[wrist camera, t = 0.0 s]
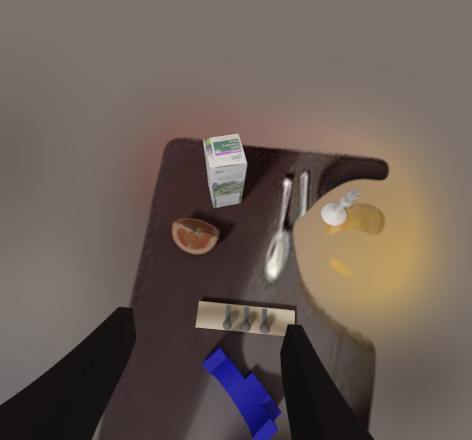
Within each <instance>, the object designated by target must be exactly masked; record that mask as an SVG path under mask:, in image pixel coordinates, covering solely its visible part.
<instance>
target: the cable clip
mask: <svg viewBox="0 0 472 440" xmlns="http://www.w3.org/2000/svg"><path fill="white" fill-rule="evenodd" d="M203 366H204V367H205V368H206V370H207V371H208V373H211V374H213V375H214V376H215V377H216V378H217V379H218V381H219V382H220V383H221V384H222V385H223V387H224V388H225V390H226V391H227V392H228V394H229V395H230V397H231V398H232V400H233V401H234V403H235V404H236V406H237V407H238V409H239V411H240V412H241V414H242V416H243V418H244V419H245V421H246V423H247V425H248V427H249V429H250V432H251V434H252V437H253V439H254V440H269V439H270V438H271V437H272V436H273V435H274V434H275V432H276V431H277V430H278V429H277V427H276V425H275V422H274V420H275V419H276V418H277V417H278V416H279V415H280V414H281V413H282V412H281V411H280V409H279V408H278V406H277V405H276V403H275V402H274V401H273V399H272V398H271V396H270V395H269V394H268V392H267V391H266V390H265V388H264V387H263V386H262V384H261V383H260V381H259V380H258V379H257V377H256V376H255V375H254V373H253V372H252V371H251V372H250V373H249V374H248V375H247V376H246V377H245V378H244V377H243V375H242V374H241V373H240V371H239V370H238V368H237V367H236V366H235V364H234V363H233V361H232V360H231V359H230V357H229V356H228V355H227V353H226V352H225V350H224V349H223V348H222V346H221V345H220V346H219V347H217V348H216V349H215V350H214V351H213V352H212V353H211V354H210V355H209V356H207V357H206V358H205V360H204V362H203Z"/></svg>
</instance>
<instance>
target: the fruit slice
mask: <svg viewBox="0 0 472 440" xmlns="http://www.w3.org/2000/svg"><path fill="white" fill-rule="evenodd" d="M219 235H220V231H219V230H218V229H217V228H216V227H214V226H213V225H211V224H209V223H207V222H205V221H202V220H199V219H194V218H179V219H176V220H175V221H174V222H173V225H172V236H173V239H174V241H175V243H176V244H177V246H178V247H180V248H181V249H182V250H183V251H185V252H188V253H191V254H204V253H206V252H208V251H210V250H211V249H212V248H213V247H214V245H215V244H216V242H217V241H218V240H219Z"/></svg>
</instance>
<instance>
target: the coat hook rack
mask: <svg viewBox="0 0 472 440" xmlns="http://www.w3.org/2000/svg"><path fill="white" fill-rule="evenodd" d="M294 323H295V311H293V310H283V309H273V308H263V307H253V306H243V305H233V304H223V303H213V302H203V301H199V307H198V314H197V321H196V327H200V328H210V329H220V330H230V331H240V332H250V333H260V334H270V335H280V336H285V333H286V329H287V325H288V324H294Z"/></svg>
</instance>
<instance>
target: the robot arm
mask: <svg viewBox="0 0 472 440" xmlns="http://www.w3.org/2000/svg"><path fill="white" fill-rule="evenodd" d="M135 341H136V332H135V324H134V317H133V309H132V308H126V307H118V308H117V309H116V310H115V311H114V312H113V313H112V314H111V315H110V316H109V317H108V318H107V319H106V320H105V321H104V322H102V323H101V324H100V325H99V326H98V327H97V328H96V329H95V330H94V331H93V332H92V333H91V334H90V335H89V336H87V337H86V338H85V339H84V340H83V341H82V342H81V343H80V344H79V345H78V346H76V347H75V348H74V349H73V350H72V351H71V352H69V353H68V354H67V355H66V356H65V357H64V358H62V359H61V360H60V361H59V362H58V363H56V364H55V365H54V366H53V367H52V368H50V369H49V370H48V371H47V372H45V373H44V374H43V375H41V376H40V377H39V378H38V379H36V380H35V381H34V382H32V383H31V384H30V385H29V386H27V387H26V388H24V389H23V390H22V391H20V392H19V393H17V394H16V395H14V396H13V397H12V398H10V399H9V400H7V401H6V402H5V403H3V404H2V405H0V440H92V438H93V435H94V432H95V430H96V428H97V426H98V423H99V421H100V419H101V417H102V415H103V413H104V410H105V408H106V406H107V404H108V402H109V400H110V398H111V396H112V394H113V392H114V390H115V388H116V386H117V384H118V382H119V380H120V377H121V375H122V373H123V371H124V369H125V367H126V365H127V363H128V360H129V358H130V355H131V352H132V349H133V347H134V344H135ZM280 357H281V373H282V382H283V388H284V394H285V401H286V407H287V413H288V419H289V425H290V431H291V437H292V440H374V439H373V437H372V436H371V434H370V433H369V432H368V431H367V429H366V428H365V427H364V425H363V424H362V423H361V421H360V420H359V419H358V417H357V416H356V415H355V413H354V412H353V410H352V409H351V408H350V406H349V405H348V403H347V402H346V400H345V399H344V397H343V396H342V394H341V393H340V391H339V390H338V388H337V387H336V385H335V384H334V382H333V381H332V379H331V377H330V376H329V374H328V372H327V371H326V369H325V367H324V366H323V364H322V362H321V361H320V359H319V357H318V355H317V353H316V352H315V350H314V348H313V346H312V344H311V342H310V341H309V339H308V337H307V335H306V333H305V331H304V329H303V327H302V326H301V325H294V324H288V325H287V329H286V333H285V337H284V341H283V344H282V348H281V352H280Z"/></svg>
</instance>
